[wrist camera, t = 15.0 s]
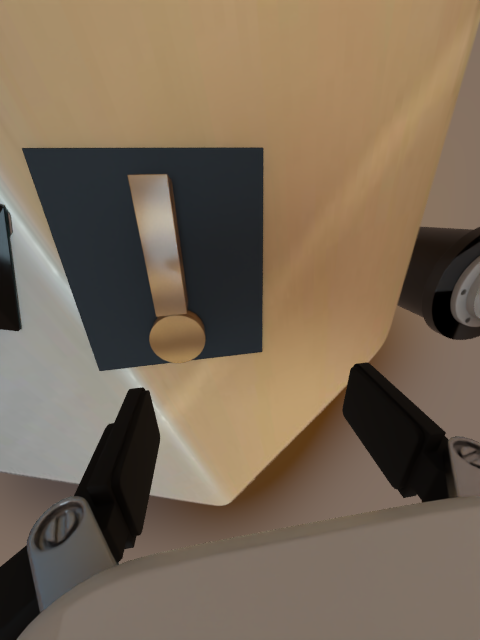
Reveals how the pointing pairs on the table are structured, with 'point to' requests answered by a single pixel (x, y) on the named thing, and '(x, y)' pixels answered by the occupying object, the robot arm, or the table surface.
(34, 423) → the table surface
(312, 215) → the table surface
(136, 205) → the wooden disc with bar
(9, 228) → the black block on plate
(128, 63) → the table surface
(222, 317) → the mat
